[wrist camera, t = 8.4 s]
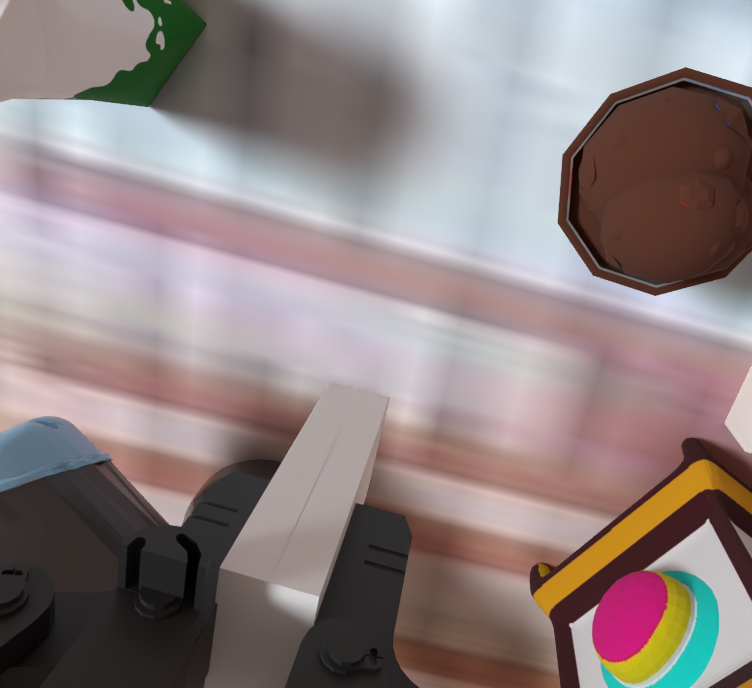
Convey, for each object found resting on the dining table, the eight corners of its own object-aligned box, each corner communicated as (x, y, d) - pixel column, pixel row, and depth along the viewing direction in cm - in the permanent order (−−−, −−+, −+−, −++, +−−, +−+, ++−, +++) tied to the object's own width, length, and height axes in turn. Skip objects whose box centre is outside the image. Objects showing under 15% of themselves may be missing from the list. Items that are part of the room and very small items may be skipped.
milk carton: (225, 23, 41) (9, -44, 23) (150, 128, 44) (-92, 144, 26) (123, -81, 40) (-192, -239, 22) (54, 35, 43) (-270, -17, 25)
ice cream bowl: (739, 222, 40) (869, 284, 26) (564, 272, 43) (597, 352, 29) (709, 51, 37) (838, 19, 23) (523, 118, 40) (538, 125, 26)
